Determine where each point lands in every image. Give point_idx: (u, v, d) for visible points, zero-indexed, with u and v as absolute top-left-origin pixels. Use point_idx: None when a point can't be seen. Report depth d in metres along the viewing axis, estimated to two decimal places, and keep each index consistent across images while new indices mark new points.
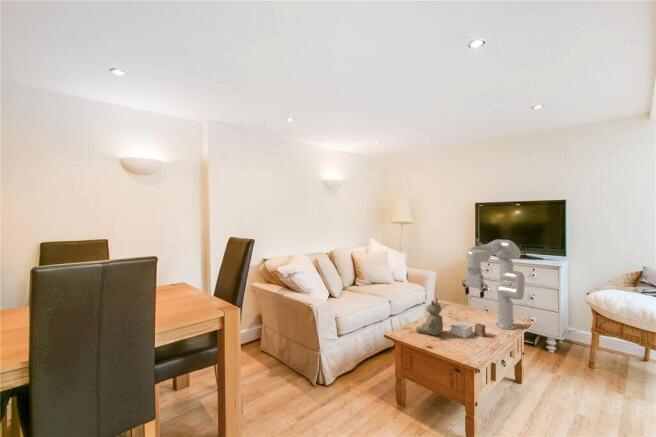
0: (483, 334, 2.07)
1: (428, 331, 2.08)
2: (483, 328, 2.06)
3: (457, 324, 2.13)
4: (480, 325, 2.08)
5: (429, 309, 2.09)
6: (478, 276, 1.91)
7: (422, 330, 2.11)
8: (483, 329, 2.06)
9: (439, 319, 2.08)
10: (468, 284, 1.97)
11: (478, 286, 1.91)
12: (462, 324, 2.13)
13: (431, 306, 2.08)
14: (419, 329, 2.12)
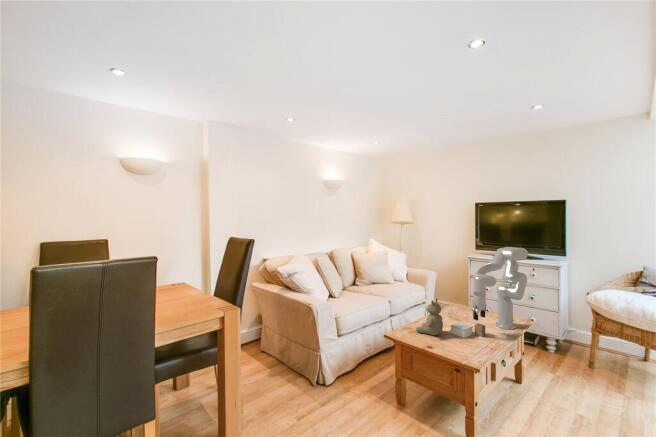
0: (483, 334, 2.07)
1: (428, 331, 2.08)
2: (483, 328, 2.06)
3: (457, 324, 2.14)
4: (480, 325, 2.08)
5: (429, 309, 2.09)
6: None
7: (422, 330, 2.11)
8: (483, 329, 2.06)
9: (439, 319, 2.08)
10: (480, 309, 2.05)
11: (485, 307, 2.09)
12: (462, 324, 2.13)
13: (431, 306, 2.08)
14: (419, 329, 2.12)
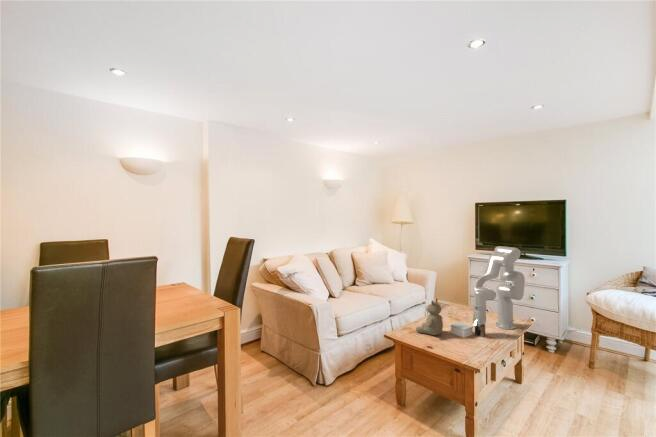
0: (483, 334, 2.07)
1: (428, 331, 2.08)
2: (483, 328, 2.06)
3: (457, 324, 2.14)
4: (480, 325, 2.08)
5: (429, 309, 2.09)
6: (485, 312, 2.09)
7: (422, 330, 2.11)
8: (483, 329, 2.06)
9: (439, 319, 2.08)
10: (481, 323, 2.05)
11: (485, 321, 2.09)
12: (462, 324, 2.13)
13: (431, 306, 2.08)
14: (419, 329, 2.12)
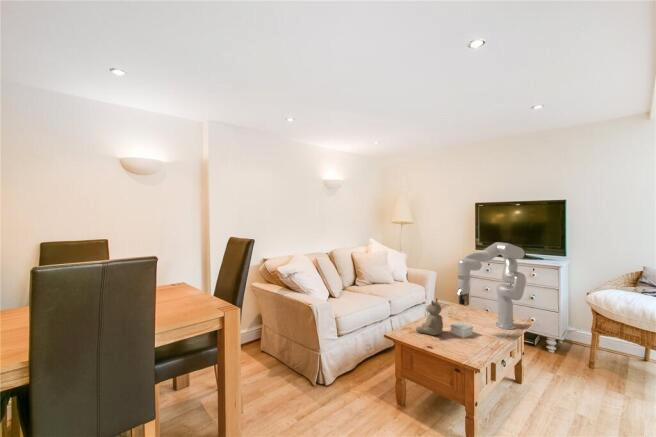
0: (467, 303, 2.08)
1: (428, 331, 2.08)
2: (467, 297, 2.08)
3: (457, 324, 2.14)
4: (464, 294, 2.09)
5: (429, 309, 2.09)
6: (469, 282, 2.11)
7: (422, 330, 2.11)
8: (467, 298, 2.08)
9: (439, 319, 2.08)
10: (464, 292, 2.07)
11: (469, 291, 2.11)
12: (463, 324, 2.13)
13: (431, 306, 2.08)
14: (419, 329, 2.12)
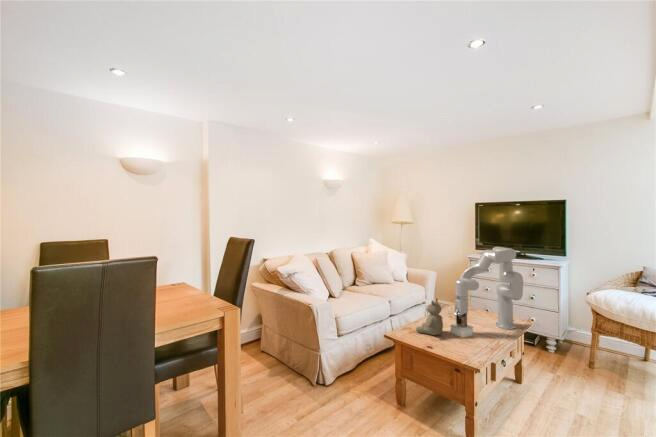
0: (465, 325, 2.09)
1: (428, 331, 2.08)
2: (465, 319, 2.09)
3: None
4: (462, 316, 2.10)
5: (429, 309, 2.09)
6: None
7: (422, 330, 2.11)
8: (465, 320, 2.09)
9: (439, 319, 2.08)
10: (462, 312, 2.07)
11: (467, 310, 2.11)
12: None
13: (431, 306, 2.08)
14: (419, 329, 2.12)
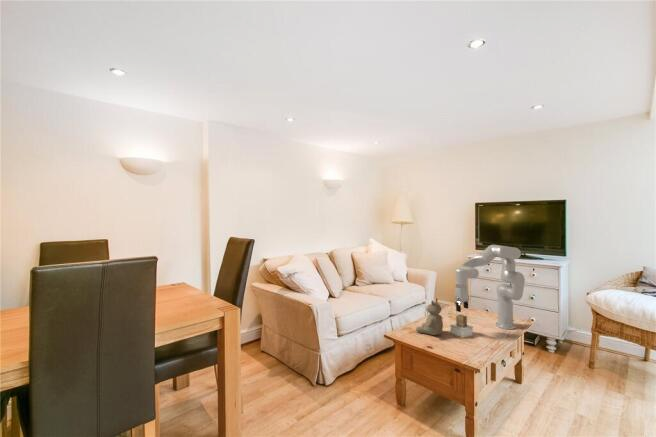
0: (464, 325, 2.09)
1: (428, 331, 2.08)
2: (464, 319, 2.09)
3: None
4: (461, 316, 2.11)
5: (429, 309, 2.09)
6: (467, 290, 2.11)
7: (422, 330, 2.11)
8: (464, 320, 2.09)
9: (439, 319, 2.08)
10: (462, 301, 2.07)
11: (467, 299, 2.11)
12: None
13: (431, 306, 2.08)
14: (419, 329, 2.12)
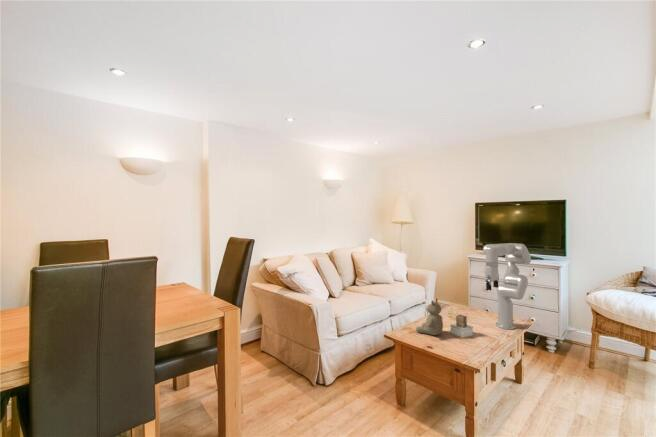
0: (464, 325, 2.09)
1: (428, 331, 2.08)
2: (464, 319, 2.09)
3: None
4: (461, 316, 2.10)
5: (429, 309, 2.09)
6: (497, 268, 2.08)
7: (422, 330, 2.11)
8: (464, 320, 2.09)
9: (439, 319, 2.08)
10: (493, 279, 2.05)
11: (497, 277, 2.08)
12: None
13: (431, 306, 2.08)
14: (419, 329, 2.12)
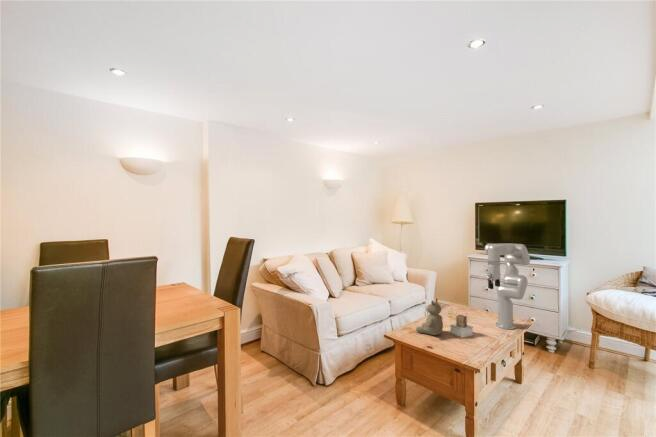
0: (464, 325, 2.09)
1: (428, 331, 2.08)
2: (464, 319, 2.09)
3: None
4: (462, 316, 2.10)
5: (429, 309, 2.09)
6: (499, 267, 2.08)
7: (422, 330, 2.11)
8: (464, 320, 2.09)
9: (439, 319, 2.08)
10: (495, 278, 2.04)
11: (499, 276, 2.08)
12: None
13: (431, 306, 2.08)
14: (419, 329, 2.12)
